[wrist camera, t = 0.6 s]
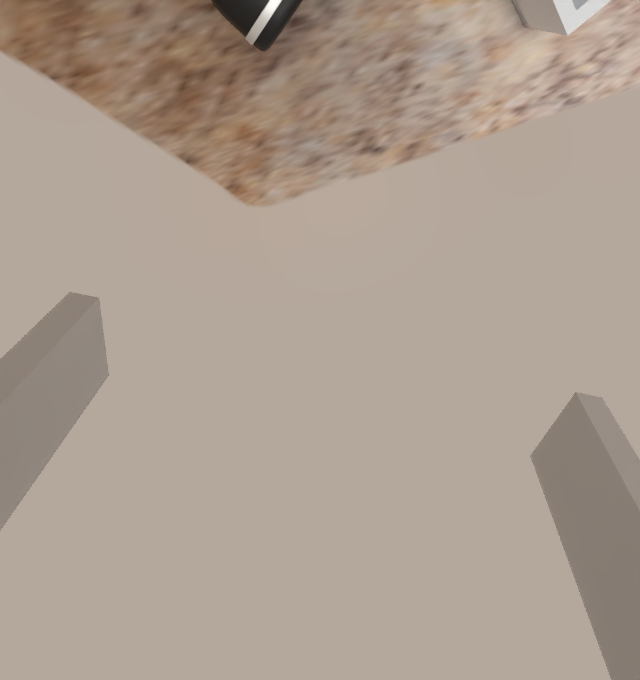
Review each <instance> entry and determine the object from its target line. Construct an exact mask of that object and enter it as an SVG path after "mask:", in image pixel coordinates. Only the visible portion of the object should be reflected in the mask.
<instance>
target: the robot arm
mask: <svg viewBox="0 0 640 680" xmlns="http://www.w3.org/2000/svg"><path fill="white" fill-rule="evenodd" d="M108 376H109V373H108V365H107V357H106V349H105V341H104V334H103V325H102V318H101V310H100V301H99V298H97V297H92V296H87V295H82V294H77V293H72V292H70V293H69V294H68V295H66V296H65V297H64V298H63V300H61V301H60V302H59V303H58V304H57V305H56V306H55V307H54V308H53V309H52V310H51V311H50V312H49V313H48V314H47V315H46V316H45V317H44V318H43V319H42V320H41V321H39V322H38V323H37V325H35V327H33V328H32V329H31V330H30V331H29V332H28V333H27V334H26V335H25V336H24V337H23V338H22V339H21V340H20V341H19V342H18V343H17V344H16V345H15V346H14V347H13V348H12V349H10V350H9V351H8V352H7V353H6V354H5V355H4V356H3V357H2V358H1V359H0V530H1V529H2V527H3V526H4V525H5V523H6V522H7V520H8V519H9V517H10V516H11V515H12V513H13V512H14V510H15V508H16V507H17V506H18V504H19V503H20V501H21V500H22V499H23V497H24V496H25V494H26V493H27V492H28V490H29V489H30V487H31V486H32V484H33V483H34V481H35V480H36V479H37V477H38V476H39V474H40V473H41V471H42V470H43V469H44V467H45V466H46V464H47V463H48V462H49V460H50V459H51V457H52V456H53V454H54V453H55V452H56V450H57V449H58V447H59V446H60V444H61V443H62V441H63V440H64V439H65V437H66V436H67V434H68V433H69V431H70V430H71V429H72V427H73V426H74V424H75V423H76V421H77V420H78V419H79V417H80V415H81V414H82V413H83V411H84V410H85V409H86V407H87V405H88V404H89V403H90V401H91V400H92V399H93V397H94V396H95V394H96V393H97V391H98V390H99V388H100V387H101V386H102V384H103V383H104V381H105V380H106V378H107V377H108ZM531 459H532V462H533V465H534V467H535V470H536V473H537V476H538V478H539V481H540V484H541V487H542V489H543V492H544V495H545V498H546V500H547V503H548V506H549V509H550V512H551V514H552V517H553V520H554V522H555V525H556V528H557V531H558V534H559V536H560V539H561V542H562V545H563V547H564V550H565V553H566V556H567V558H568V561H569V564H570V567H571V570H572V572H573V575H574V578H575V581H576V583H577V586H578V589H579V592H580V594H581V597H582V600H583V603H584V605H585V608H586V611H587V614H588V616H589V619H590V622H591V625H592V627H593V630H594V633H595V636H596V639H597V641H598V644H599V647H600V650H601V652H602V655H603V658H604V660H605V663H606V666H607V669H608V672H609V675H610V677H611V680H640V460H639V458H638V457H637V455H636V453H635V452H634V450H633V448H632V447H631V445H630V443H629V441H628V440H627V438H626V437H625V435H624V433H623V431H622V430H621V428H620V427H619V425H618V423H617V421H616V420H615V418H614V416H613V415H612V413H611V411H610V410H609V408H608V406H607V405H606V403H605V401H604V400H603V398H602V397H596V396H591V395H586V394H582V393H577V392H575V394H574V396H573V397H572V398H571V400H570V401H569V402H568V404H567V405H566V407H565V408H564V409H563V411H562V412H561V414H560V415H559V416H558V418H557V419H556V421H555V422H554V424H553V425H552V426H551V428H550V429H549V430H548V432H547V433H546V435H545V436H544V437H543V439H542V440H541V442H540V443H539V445H538V446H537V447H536V449H535V450H534V451H533V453H532V454H531Z"/></svg>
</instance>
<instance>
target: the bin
mask: <svg viewBox="0 0 640 680" xmlns="http://www.w3.org/2000/svg"><path fill="white" fill-rule="evenodd" d="M609 1H611V0H512V2H513V4H514V6H515V8H516V10H517V12H518V14H519V16H520V19H521V21H522V23H523V25H524V27H527V28H532V29H537V30H542V31H547V32H552V33H557V34H562V35H569V34H570V33H572V32H573V31H574V30H575V29H576V28H578V27H579V26H580V25H581V24H582V23H584V22H585V21H586V20H587V19H589V18H590V17H591V16H592V15H593V14H595V13H596V12H597V11H598V10H600V9H601V8H602V7H603V6H604V5H606V4H607V3H608V2H609Z"/></svg>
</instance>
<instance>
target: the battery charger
mask: <svg viewBox="0 0 640 680" xmlns="http://www.w3.org/2000/svg"><path fill="white" fill-rule="evenodd" d="M212 2H213V4H214V6H215V7H216V8H217V9H218V11H219V12H220V13H221V14H222V15H223V16H224V17H225V18H226V19H227V20H228V21H229V22H230V23H231V24H232V25H233V26H234V27H236V28H237V29H238V30H239V31H240V32H241V33H242V34H243V35H244V36H245V37H246V38H245V40H246V41H248V42H249V43H250V44H251V45H253V44H254V45H255V46H256V47H257V48H258V49H259V50H261V51H266V50H268V49H269V48H270V46H271V45H272V44H273V43H274V41H275V40H276V38H277V37H278V36H279V34H280V33H281V31H282V30H283V28H284V27H285V25H286V24H287V22H288V21H289V19H290V18H291V16H292V15H293V14H294V12H295V11H296V9H297V8H298V6H299V5H300V3H301V2H302V0H212Z"/></svg>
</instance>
